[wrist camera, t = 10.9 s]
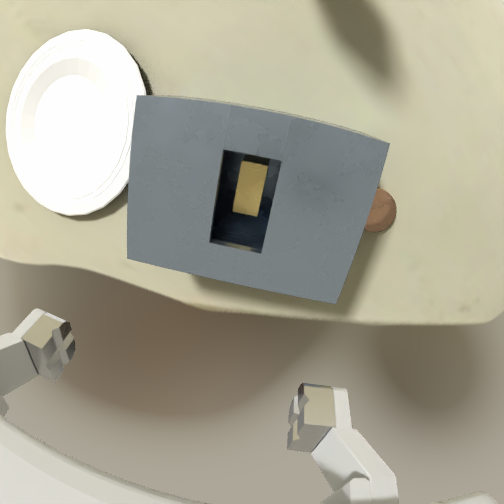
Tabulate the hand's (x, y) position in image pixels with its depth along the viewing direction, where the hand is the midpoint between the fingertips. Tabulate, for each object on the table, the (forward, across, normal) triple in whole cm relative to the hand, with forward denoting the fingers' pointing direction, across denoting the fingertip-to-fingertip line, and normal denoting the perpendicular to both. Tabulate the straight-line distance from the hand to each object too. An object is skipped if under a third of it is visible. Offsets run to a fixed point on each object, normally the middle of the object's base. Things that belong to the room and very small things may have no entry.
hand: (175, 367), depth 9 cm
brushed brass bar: (+26, 0, 0) cm, 26 cm away
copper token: (+27, -14, +1) cm, 31 cm away
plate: (+27, +25, -3) cm, 37 cm away
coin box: (+27, 0, 0) cm, 27 cm away
